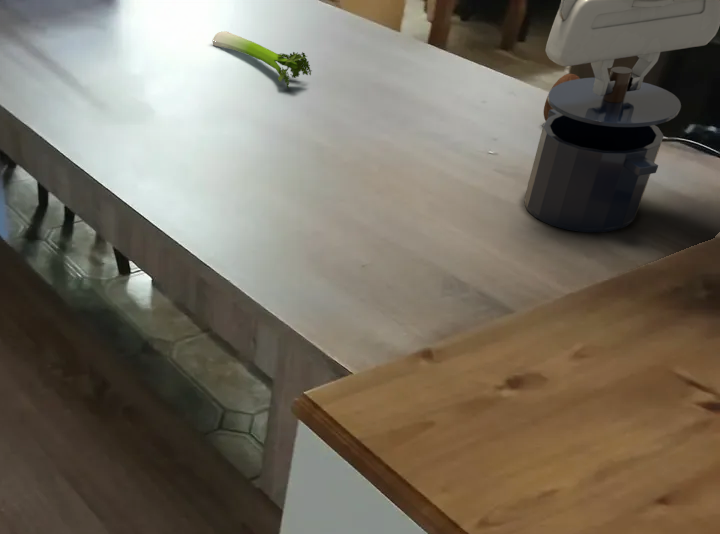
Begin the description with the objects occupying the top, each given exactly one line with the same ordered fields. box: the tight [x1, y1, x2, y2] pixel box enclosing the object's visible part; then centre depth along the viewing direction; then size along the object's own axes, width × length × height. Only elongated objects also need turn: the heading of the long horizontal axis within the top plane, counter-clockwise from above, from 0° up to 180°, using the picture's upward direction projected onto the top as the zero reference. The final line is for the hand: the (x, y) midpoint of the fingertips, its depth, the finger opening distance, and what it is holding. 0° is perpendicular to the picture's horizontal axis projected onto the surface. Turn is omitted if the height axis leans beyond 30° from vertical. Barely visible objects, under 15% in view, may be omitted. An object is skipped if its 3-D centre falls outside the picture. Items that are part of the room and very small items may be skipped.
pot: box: [524, 109, 664, 233], centre depth 119 cm, size 14×19×10 cm
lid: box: [547, 66, 682, 127], centre depth 112 cm, size 15×15×5 cm
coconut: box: [543, 73, 581, 122], centre depth 139 cm, size 5×5×8 cm
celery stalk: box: [212, 30, 313, 89], centre depth 166 cm, size 6×7×30 cm
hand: (615, 91), depth 112 cm, fingers closed on lid, 2 cm apart
